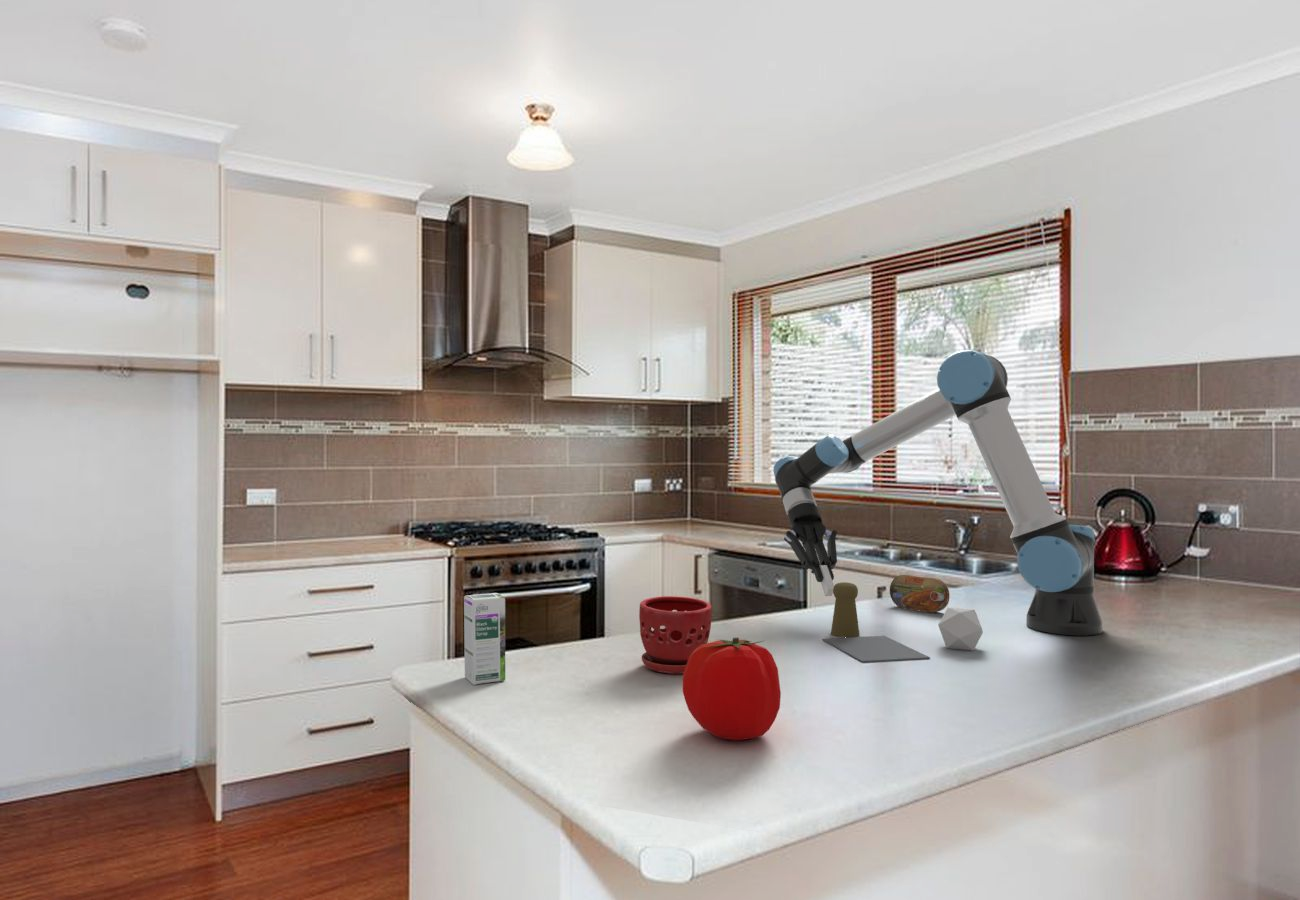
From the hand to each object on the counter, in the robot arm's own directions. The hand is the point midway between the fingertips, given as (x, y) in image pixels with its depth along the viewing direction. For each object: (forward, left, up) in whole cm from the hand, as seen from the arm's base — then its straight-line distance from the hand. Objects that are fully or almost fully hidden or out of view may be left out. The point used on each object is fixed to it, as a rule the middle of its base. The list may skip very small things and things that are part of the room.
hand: (830, 592), depth 187 cm
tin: (-3, -33, -8) cm, 34 cm away
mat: (-18, +10, -8) cm, 22 cm away
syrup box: (+13, +79, -8) cm, 81 cm away
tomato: (-33, +66, -8) cm, 74 cm away
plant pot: (-3, +49, -8) cm, 50 cm away
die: (-29, -5, -8) cm, 30 cm away
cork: (-7, +3, -8) cm, 11 cm away
